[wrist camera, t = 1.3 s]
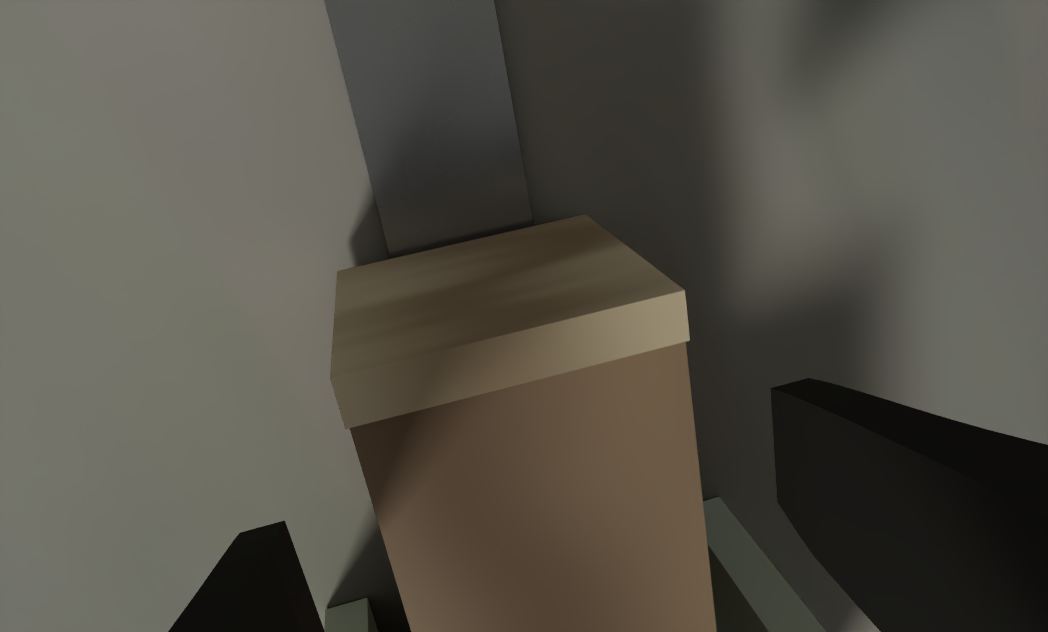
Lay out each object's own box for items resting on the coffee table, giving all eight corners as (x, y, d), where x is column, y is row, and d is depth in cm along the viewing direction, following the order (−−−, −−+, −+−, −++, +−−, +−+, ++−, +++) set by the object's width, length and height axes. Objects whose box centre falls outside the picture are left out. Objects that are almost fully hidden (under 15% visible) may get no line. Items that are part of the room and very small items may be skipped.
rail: (425, -373, 12) (426, -379, 12) (643, 851, 23) (646, 857, 23) (235, -350, 12) (234, -356, 12) (549, 883, 23) (551, 890, 23)
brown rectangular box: (585, 213, 16) (685, 290, 11) (652, 656, 20) (742, 844, 15) (337, 271, 15) (330, 377, 10) (463, 714, 20) (498, 930, 15)
